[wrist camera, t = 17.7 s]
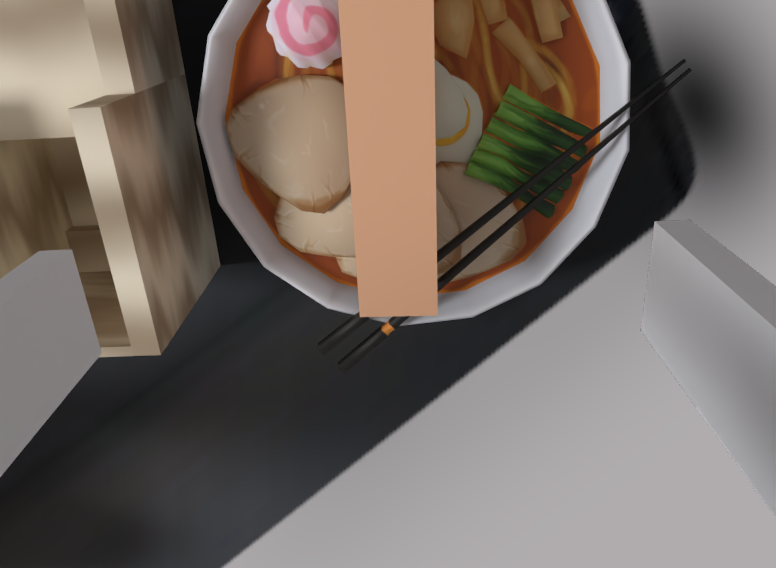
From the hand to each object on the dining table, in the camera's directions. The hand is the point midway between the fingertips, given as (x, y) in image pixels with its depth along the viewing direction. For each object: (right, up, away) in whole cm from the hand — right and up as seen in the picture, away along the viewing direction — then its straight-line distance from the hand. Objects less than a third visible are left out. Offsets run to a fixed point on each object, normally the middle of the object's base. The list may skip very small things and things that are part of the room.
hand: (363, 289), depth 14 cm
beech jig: (-17, +12, +25) cm, 33 cm away
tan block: (+1, +9, +17) cm, 20 cm away
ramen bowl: (+2, +11, +25) cm, 28 cm away
